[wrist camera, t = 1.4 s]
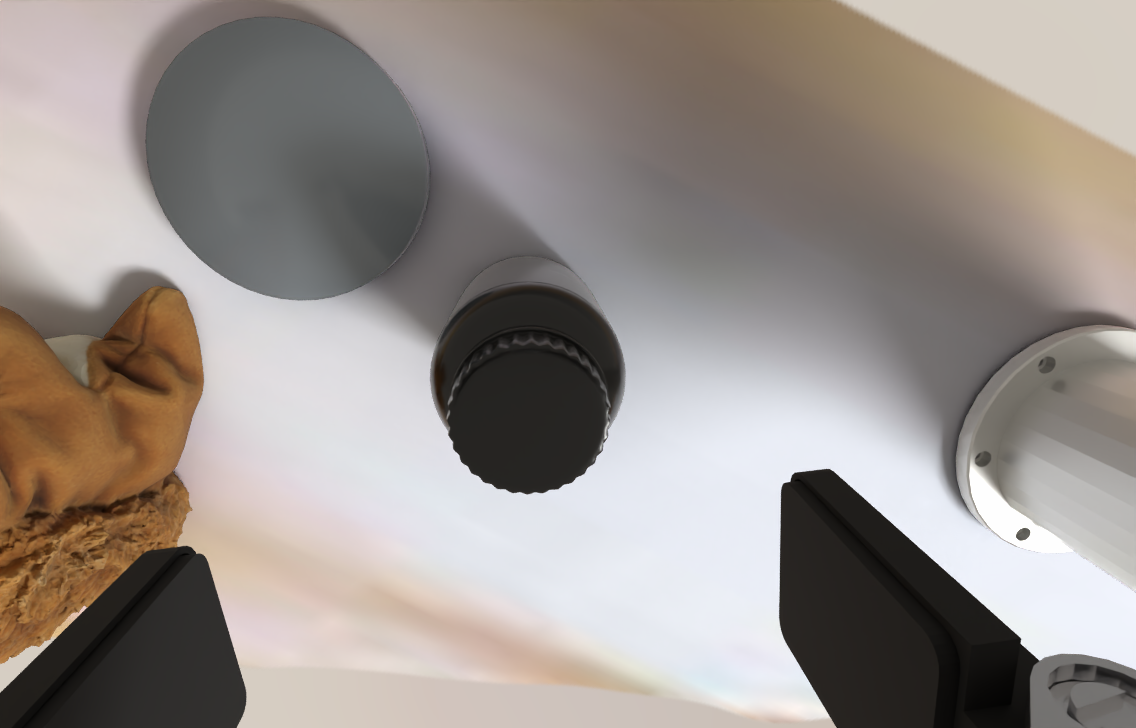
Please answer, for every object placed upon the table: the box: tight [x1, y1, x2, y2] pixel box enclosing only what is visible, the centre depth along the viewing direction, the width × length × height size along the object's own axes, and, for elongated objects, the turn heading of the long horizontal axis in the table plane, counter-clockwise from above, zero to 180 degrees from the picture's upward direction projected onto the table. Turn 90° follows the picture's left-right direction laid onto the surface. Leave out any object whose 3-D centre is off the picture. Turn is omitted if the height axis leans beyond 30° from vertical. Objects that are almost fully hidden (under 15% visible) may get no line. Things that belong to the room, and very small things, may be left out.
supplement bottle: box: [430, 256, 625, 494], centre depth 23 cm, size 7×7×12 cm
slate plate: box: [146, 17, 430, 300], centre depth 25 cm, size 11×11×2 cm
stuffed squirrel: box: [0, 286, 204, 664], centre depth 23 cm, size 10×14×13 cm
